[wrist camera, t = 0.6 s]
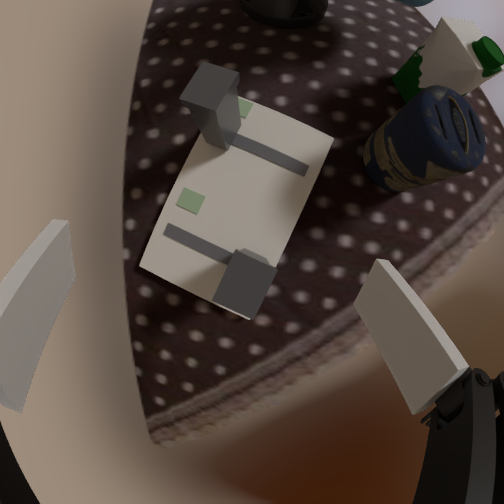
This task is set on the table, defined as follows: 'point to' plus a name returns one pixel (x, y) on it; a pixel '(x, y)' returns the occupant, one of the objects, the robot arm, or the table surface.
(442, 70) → the milk carton
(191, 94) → the switch
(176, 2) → the table surface
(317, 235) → the table surface
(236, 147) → the switch board
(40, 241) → the robot arm
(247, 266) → the switch
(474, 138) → the canister
